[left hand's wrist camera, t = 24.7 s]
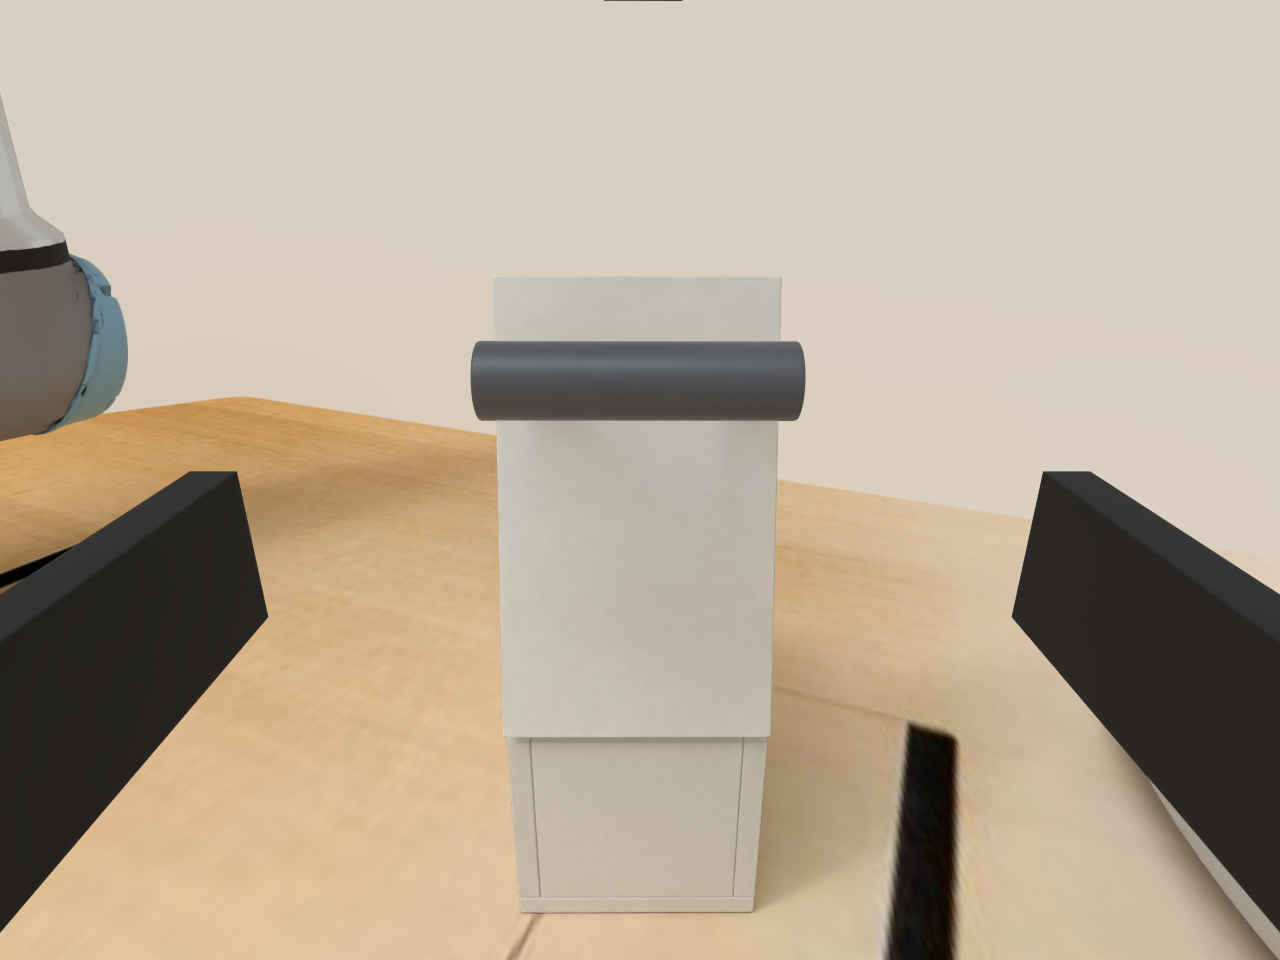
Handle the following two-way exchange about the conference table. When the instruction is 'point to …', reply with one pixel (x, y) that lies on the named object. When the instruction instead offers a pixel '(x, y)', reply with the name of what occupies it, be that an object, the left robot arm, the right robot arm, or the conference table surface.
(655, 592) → the lid
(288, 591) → the conference table surface
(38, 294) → the right robot arm
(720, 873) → the chest
